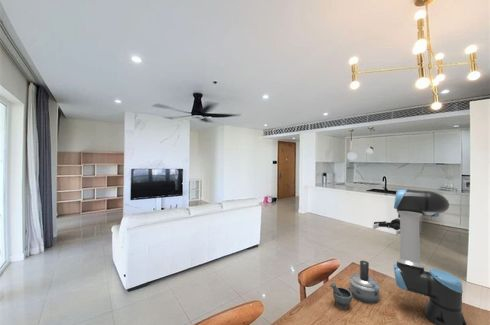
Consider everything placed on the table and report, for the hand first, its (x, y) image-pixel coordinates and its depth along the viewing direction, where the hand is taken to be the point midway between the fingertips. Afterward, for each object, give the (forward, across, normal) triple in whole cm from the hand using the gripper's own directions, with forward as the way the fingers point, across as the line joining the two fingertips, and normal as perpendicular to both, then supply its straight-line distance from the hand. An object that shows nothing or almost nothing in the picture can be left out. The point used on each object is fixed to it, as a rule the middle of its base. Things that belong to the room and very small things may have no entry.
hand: (384, 230), depth 136 cm
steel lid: (+24, 0, -26) cm, 36 cm away
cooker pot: (+24, 0, -34) cm, 42 cm away
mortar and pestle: (+43, +3, -34) cm, 55 cm away
